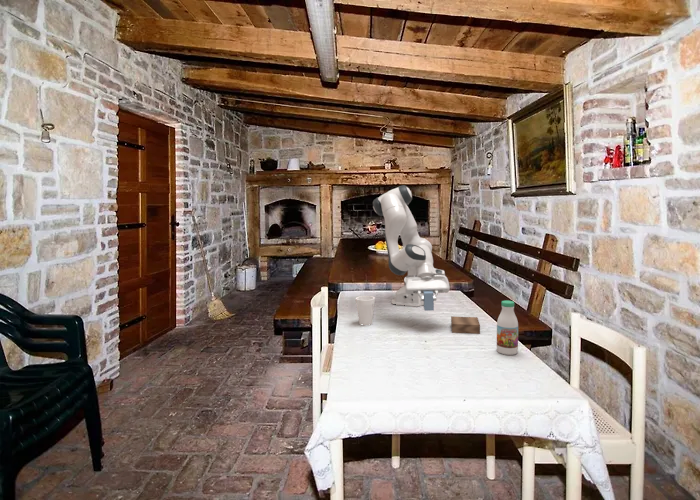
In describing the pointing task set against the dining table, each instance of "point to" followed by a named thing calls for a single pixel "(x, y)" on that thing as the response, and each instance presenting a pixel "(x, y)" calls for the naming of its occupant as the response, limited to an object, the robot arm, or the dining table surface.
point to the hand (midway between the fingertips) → (428, 300)
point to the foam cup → (365, 309)
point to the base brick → (465, 325)
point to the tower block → (428, 300)
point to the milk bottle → (507, 329)
